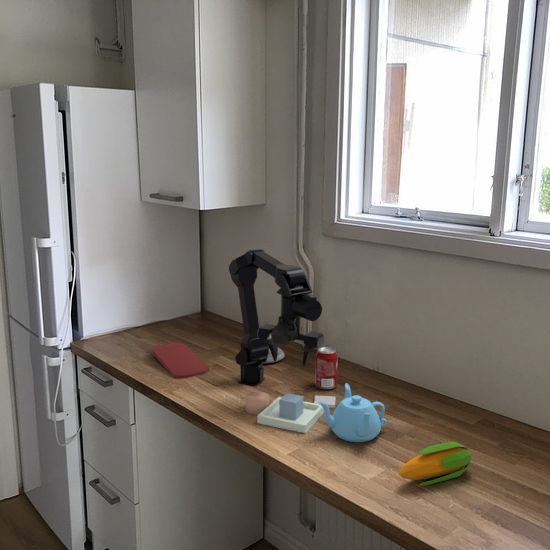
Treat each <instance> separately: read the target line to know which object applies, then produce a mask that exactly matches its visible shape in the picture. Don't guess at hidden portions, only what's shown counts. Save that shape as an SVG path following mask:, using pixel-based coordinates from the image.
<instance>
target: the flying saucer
mask: <svg viewBox="0 0 550 550" xmlns="http://www.w3.org/2000/svg"><path fill="white" fill-rule="evenodd" d="M284 358H285V353H284V351H283V350H282V349H281V348H280V347H278V356H277V361H274V360H273V357H272V354H271V351H270V349H269V354H268V357H267V361H266V362H263V363H262V364H272V363H276V362H279V361H281V360H282V359H284Z"/></svg>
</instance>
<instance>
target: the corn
mask: <svg viewBox="0 0 550 550" xmlns="http://www.w3.org/2000/svg"><path fill="white" fill-rule="evenodd" d="M418 454H419V455H417V456H415V457H413V458H411V459H409V460H408V461H406V463H405V464H403V465H402V466H401V468H400V470H399V472H398V476H400V477H401V478H403V479H405V480H416V481H417V480H419V481H421V480H424V482H421V483H419V484H418V485H417V486H418V487H419V486H420V487H421V486H429V485H433V484H437V483H440V482H444V481H449V480H451V479H454V478H459V477H461V475H462V474H463V473H465V471H466V470H467V469H468V468H469V465H470V463H471V460H472V453H471V451H470V450H469V449H468V448H467V447H466V446H465V445H462V444H460V443H458V442H457V441H449V442H443V443H438V444H437V443H436V444H433V445H431V446H427V447H425V448H423V449H421V450H420V451H419V452H418ZM440 476H441V477H440ZM436 477H438V478H436ZM432 478H433V479H432ZM427 479H431V480H428V481H425V480H427Z"/></svg>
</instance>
